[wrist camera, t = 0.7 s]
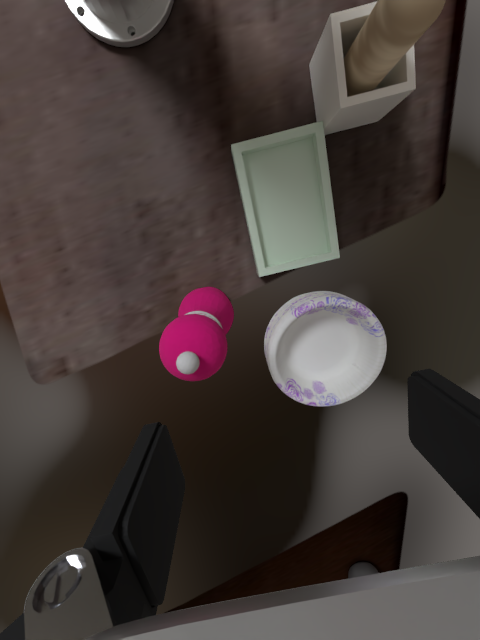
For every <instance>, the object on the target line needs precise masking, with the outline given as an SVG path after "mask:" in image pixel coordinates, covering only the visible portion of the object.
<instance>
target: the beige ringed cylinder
mask: <svg viewBox="0 0 480 640" xmlns="http://www.w3.org/2000/svg"><path fill="white" fill-rule="evenodd" d="M444 4H445V0H378V1H377V3H376V4H375V6H374V8H373V10H372V11H371V13H370V15H369V16H368V18H367V20H366V21H365V23H364V25H363V27H362V28H361V30H360V32H359V33H358V35H357V37H356V39H355V40H354V42H353V44H352V45H351V47H350V49H349V50H348V52H347V54H346V56H345V57H344V68H345V78H346V87H347V97H350V96H354V95H357V94H361V93H365V92H369V91H373V90H374V89H375V87H376V86H377V85H378V84H379V83H380V82H381V81H382V80H383V78H384V77H385V76H386V75H387V74H388V73H389V72H390V71H391V70H392V68H393V67H394V66H395V65H396V64H397V63H398V62H399V61H400V59H401V58H402V57H403V56H404V55H405V54H406V53H407V52H408V50H409V49H410V48H411V47H412V46H413V45H414V44H415V43H416V41H417V40H418V39H419V38H420V37H421V36H422V35H423V34H424V33H425V31H426V30H427V29H428V28H429V27H430V26H431V25H432V24H433V22H434V21H435V20H436V19H437V18H438V16H439V15H440V13H441V11H442V9H443V7H444Z"/></svg>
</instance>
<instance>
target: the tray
mask: <svg viewBox="0 0 480 640" xmlns="http://www.w3.org/2000/svg"><path fill="white" fill-rule="evenodd" d="M231 153H232V158H233V163H234V167H235V172H236V177H237V181H238V186H239V191H240V195H241V200H242V204H243V209H244V214H245V218H246V223H247V228H248V232H249V237H250V242H251V246H252V251H253V256H254V260H255V265H256V270H257V274H258V276H259V277H262V276H266V275H270V274H275V273H279V272H283V271H287V270H291V269H295V268H300V267H304V266H308V265H312V264H316V263H320V262H325V261H329V260H333V259H337V258H340V254H339V246H338V238H337V230H336V222H335V214H334V206H333V198H332V190H331V183H330V175H329V167H328V159H327V151H326V143H325V135H324V127H323V121H320V122H316V123H312V124H308V125H304V126H301V127H297V128H293V129H289V130H285V131H281V132H278V133H274V134H270V135H266V136H262V137H258V138H254V139H251V140H247V141H243V142H239V143H235V144H231Z"/></svg>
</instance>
